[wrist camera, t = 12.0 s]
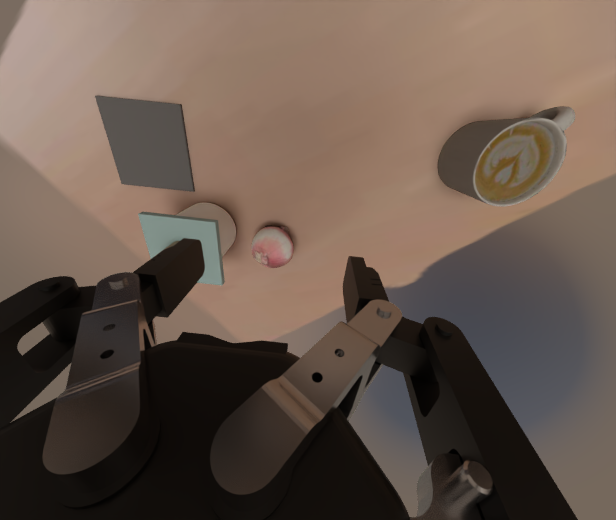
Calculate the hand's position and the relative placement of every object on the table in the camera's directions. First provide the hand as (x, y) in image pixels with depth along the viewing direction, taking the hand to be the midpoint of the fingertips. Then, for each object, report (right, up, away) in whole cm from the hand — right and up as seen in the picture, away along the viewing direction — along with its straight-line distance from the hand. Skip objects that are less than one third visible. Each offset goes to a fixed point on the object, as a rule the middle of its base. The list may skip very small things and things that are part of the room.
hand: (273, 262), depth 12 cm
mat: (-25, +19, +26) cm, 40 cm away
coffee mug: (+29, +17, +23) cm, 41 cm away
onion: (-4, +4, +33) cm, 33 cm away
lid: (-17, +2, +23) cm, 29 cm away
